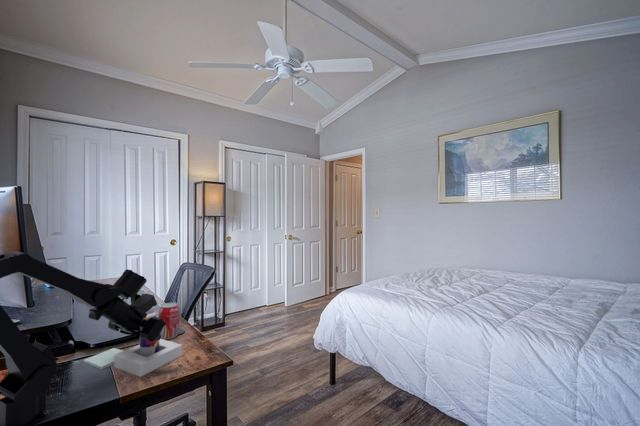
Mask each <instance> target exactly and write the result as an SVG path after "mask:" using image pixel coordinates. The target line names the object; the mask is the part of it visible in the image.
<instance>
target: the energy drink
mask: <svg viewBox="0 0 640 426" xmlns="http://www.w3.org/2000/svg"><path fill="white" fill-rule="evenodd" d="M141 330H142V328H140V331H141ZM140 338H141V337H140V336H139V345H140V351H139V355H142V356H145V357H148V356H150V355H152V354H154V353H157V352H159V340H154V341H152V342H150V341H147V340H143V339H140Z"/></svg>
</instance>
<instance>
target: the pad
mask: <svg viewBox="0 0 640 426" xmlns="http://www.w3.org/2000/svg"><path fill="white" fill-rule="evenodd" d="M123 351H124V350H122V349H118V348H117V347H116V348H115V347H112V348H111V349H108V350H105V351H103V352H102V351H101V352H100V353H97V354H95V355H93V356H90V357H87V358H84V359H83V364H87V365H89V366H91V367H94V368H95V369H96V368H97V369H99V370H104V369H106V368H108V367H110V366H114V355H116V354H118V353H120V352H123Z"/></svg>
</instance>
